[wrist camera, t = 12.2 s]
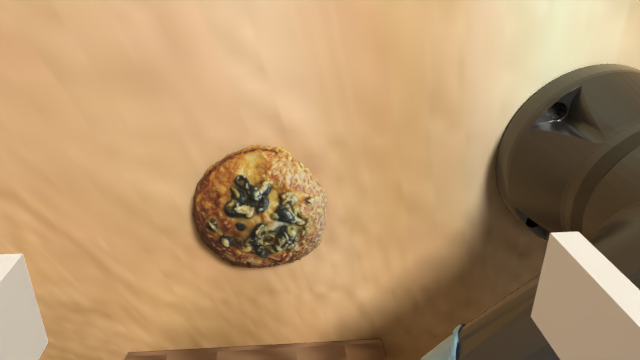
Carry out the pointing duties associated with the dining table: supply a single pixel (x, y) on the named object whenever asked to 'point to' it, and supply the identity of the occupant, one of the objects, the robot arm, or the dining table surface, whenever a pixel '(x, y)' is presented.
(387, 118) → the dining table surface
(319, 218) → the bread roll
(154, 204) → the dining table surface
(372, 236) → the dining table surface
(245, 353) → the socket board
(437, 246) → the dining table surface
